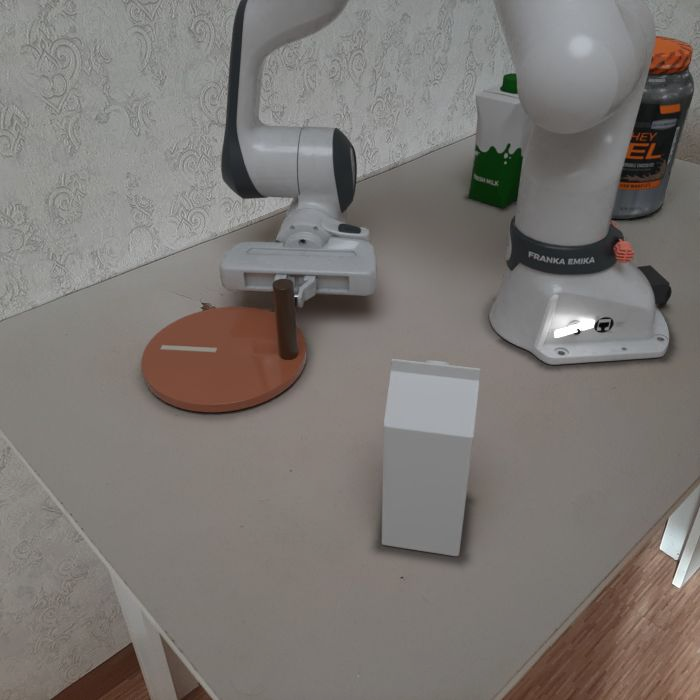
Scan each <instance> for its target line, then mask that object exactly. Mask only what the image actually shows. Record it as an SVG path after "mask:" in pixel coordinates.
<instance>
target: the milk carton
mask: <svg viewBox="0 0 700 700" xmlns="http://www.w3.org/2000/svg"><path fill="white" fill-rule="evenodd" d="M481 372H482V369H481V368H478V367H470V366H461V365H453V364H451V363H450V362H446V361H443V360H442V361H440V360H431V359H426V360H425V361H417V360H416V361H415V360H409V359H408V360H407V359H397V358H391V360H390V373H389V374H390V375H389V382H388V390H387V396H386V405H385V411H384V419H383V441H382V442H383V445H382V446H383V447H382V449H383V451H382V496H381V500H382V501H381V545H383V546H388V547H393V548H399V549H406V550H412V551H418V552H425V553H432V554H438V555H444V556H451V557H459V556H460V552H461V543H462V535H463V525H464V518H465V509H466V502H467V501H466V500H467V494H468V493H467V491H468V484H469V476H470V469H471V461H472V453H473V444H474V434H475V425H476V417H477V408H478V399H479V389H480V381H481V380H480V379H481Z"/></svg>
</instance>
